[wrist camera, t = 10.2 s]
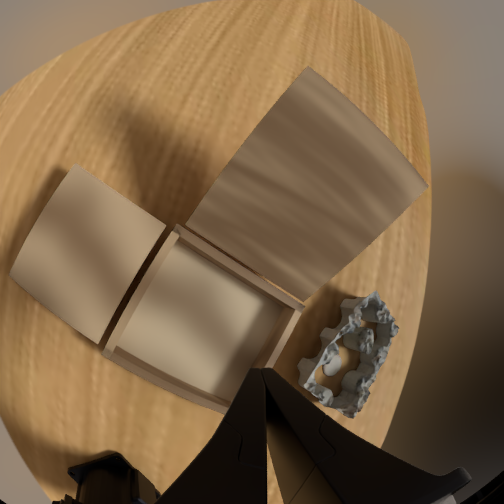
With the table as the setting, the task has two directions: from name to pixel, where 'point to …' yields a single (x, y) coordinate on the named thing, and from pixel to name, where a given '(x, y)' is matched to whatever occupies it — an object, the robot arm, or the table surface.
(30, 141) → the table surface
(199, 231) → the flap
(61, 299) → the carton
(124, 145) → the table surface
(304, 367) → the egg carton
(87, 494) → the robot arm
